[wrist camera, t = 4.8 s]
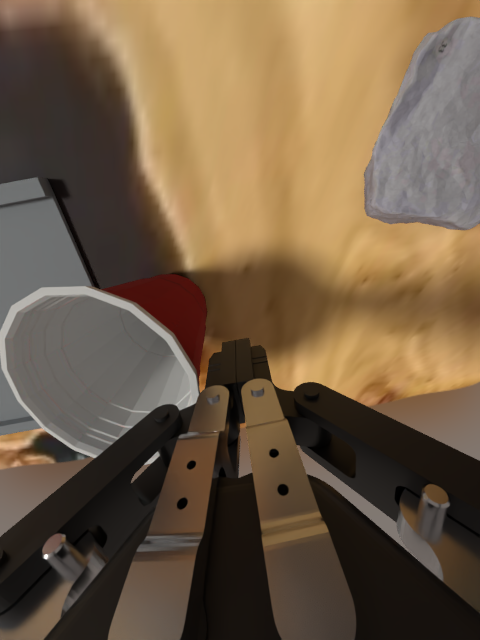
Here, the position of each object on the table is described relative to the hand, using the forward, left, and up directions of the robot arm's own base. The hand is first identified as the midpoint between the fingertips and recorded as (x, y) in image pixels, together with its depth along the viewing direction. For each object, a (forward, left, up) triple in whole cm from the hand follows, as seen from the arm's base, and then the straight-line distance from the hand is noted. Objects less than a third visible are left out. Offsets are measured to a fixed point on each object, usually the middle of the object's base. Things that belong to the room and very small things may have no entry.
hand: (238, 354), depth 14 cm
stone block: (+1, +19, -11) cm, 22 cm away
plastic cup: (-3, -5, -11) cm, 12 cm away
